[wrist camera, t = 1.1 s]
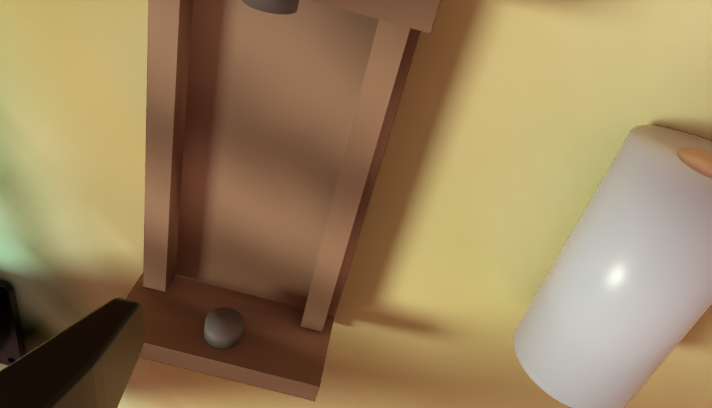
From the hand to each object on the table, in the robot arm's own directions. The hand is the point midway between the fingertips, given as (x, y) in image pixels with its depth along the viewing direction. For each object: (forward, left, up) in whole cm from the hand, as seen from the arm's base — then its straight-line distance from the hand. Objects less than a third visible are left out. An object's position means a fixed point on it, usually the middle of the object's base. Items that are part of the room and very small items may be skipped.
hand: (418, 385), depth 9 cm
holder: (-5, +5, -14) cm, 15 cm away
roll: (-5, -10, -14) cm, 18 cm away
